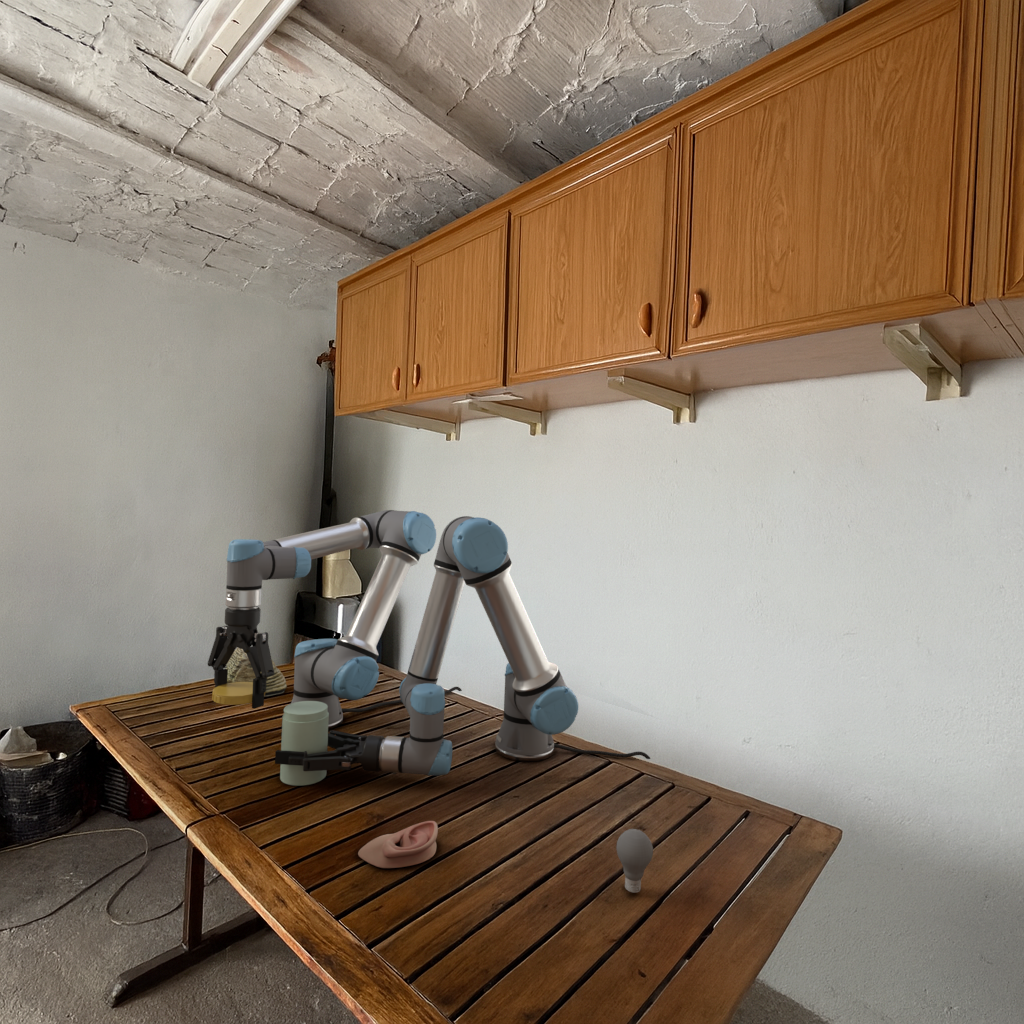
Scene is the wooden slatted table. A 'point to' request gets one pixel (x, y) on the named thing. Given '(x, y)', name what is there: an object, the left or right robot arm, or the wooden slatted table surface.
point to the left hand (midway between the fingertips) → (238, 702)
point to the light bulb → (634, 857)
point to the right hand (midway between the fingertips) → (286, 747)
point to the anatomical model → (402, 846)
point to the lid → (233, 693)
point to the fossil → (243, 672)
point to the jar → (304, 738)
